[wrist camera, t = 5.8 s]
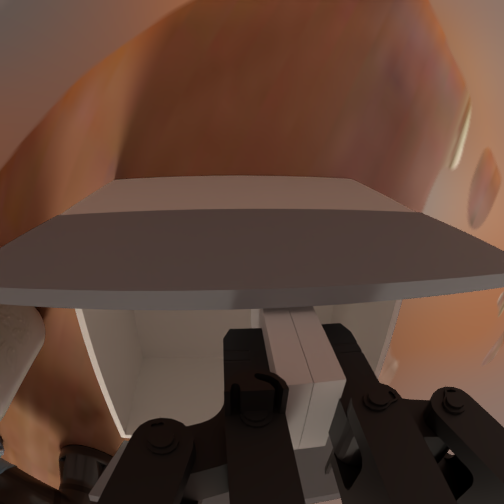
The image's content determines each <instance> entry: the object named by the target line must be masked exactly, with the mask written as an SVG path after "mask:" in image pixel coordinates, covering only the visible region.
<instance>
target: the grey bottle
mask: <svg viewBox="0 0 504 504" xmlns="http://www.w3.org/2000/svg"><path fill="white" fill-rule="evenodd" d="M44 340H45V325H44V322H43V319H42V317H41V315H40V313H39V312H38V310H37V309H36V308H35V306H20V305H6V304H0V421H1V420H2V418H3V417H4V415H5V413H6V411H7V410H8V408H9V406H10V404H11V402H12V400H13V398H14V396H15V394H16V392H17V391H18V389H19V387H20V385H21V383H22V381H23V379H24V378H25V376H26V374H27V372H28V370H29V369H30V367H31V365H32V363H33V361H34V360H35V358H36V356H37V355H38V353H39V351H40V349H41V348H42V346H43V344H44Z"/></svg>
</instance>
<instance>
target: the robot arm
mask: <svg viewBox="0 0 504 504" xmlns="http://www.w3.org/2000/svg"><path fill="white" fill-rule="evenodd" d="M251 327H252V328H245V329H229V330H228V332H227V334H226V335H225V337H224V338H223V361H224V405H223V407H222V409H221V410H220V411H219V412H218V414H217V415H216V416H214V417H213V418H211V419H209V420H207V421H204V422H202V423H198V424H194V425H190V426H185V425H184V424H183V423H182V422H179V421H177V420H174V419H171V418H156V419H151V420H148V421H146V422H145V423H143V424H141V425H139V427H138V428H137V429H136V430H135V431H134V433H133V434H132V436H131V438H130V440H129V442H128V444H127V446H126V448H125V450H124V451H123V453H122V455H121V457H120V459H119V461H118V463H117V465H116V467H115V469H114V471H113V473H112V475H111V476H110V478H109V480H108V482H107V484H106V486H105V488H104V490H103V492H102V494H101V496H100V498H99V500H98V502H95V501H90V498H89V493H90V491H91V490H92V488H93V487H94V485H95V484H96V482H97V481H98V479H99V478H100V476H101V475H102V473H103V472H104V470H105V469H106V467H107V466H108V464H109V463H110V461H111V460H112V458H113V457H112V456H110V455H108V454H106V453H103V452H101V451H98V450H96V449H92V448H89V447H85V446H79V445H69V446H65V447H63V448H62V450H61V453H60V456H59V469H60V481H61V482H60V487H59V490H57V489H55V488H53V487H51V486H49V485H47V484H45V483H43V482H41V481H40V480H38V479H36V478H34V477H32V476H31V475H29V474H27V473H25V472H24V471H22V470H20V469H19V468H17V466H16V465H13V464H11V463H9V462H7V461H6V460H4V459H2V458H0V504H202V501H203V499H206V498H210V497H213V496H217V495H220V494H223V493H227V492H229V501H230V504H306V503H305V498H304V494H303V490H302V485H301V481H300V476H299V472H298V467H297V463H296V458H295V454H294V450H296V449H298V448H299V449H304V448H312V447H320V446H325V445H326V442H327V439H328V436H330V440H331V443H332V446H333V449H332V451H331V454H330V456H329V459H328V461H327V464H326V466H325V474H329V472H330V470H331V468H332V469H333V473H334V476H335V479H336V483H337V486H338V490H339V493H340V497H341V500H342V504H504V428H503V427H502V426H501V425H500V424H499V423H498V422H497V421H496V420H495V419H494V418H493V417H492V416H491V415H490V414H489V413H488V412H486V411H485V410H484V409H483V408H482V407H481V406H480V405H479V404H478V403H477V402H476V401H475V400H474V399H473V398H471V397H470V396H469V395H468V394H467V393H465V392H464V391H462V390H461V389H458V388H454V387H443V388H440V389H438V390H437V391H435V392H434V393H433V395H432V397H431V399H430V400H409V399H402V398H401V396H400V395H399V394H398V393H397V391H396V390H394V389H393V388H391V387H389V386H388V385H385V384H381V383H379V381H378V379H377V377H376V375H375V373H374V372H373V370H372V368H371V366H370V364H369V363H368V361H367V359H366V357H365V355H364V354H363V353H362V350H361V348H360V346H359V345H358V344H357V341H356V339H355V338H354V336H353V334H352V332H351V331H350V330H348V329H347V328H346V327H344V326H343V325H342V324H341V323H333V324H321V323H320V320H319V318H318V316H317V314H316V312H315V310H314V308H313V306H308V307H288V308H265V309H251ZM449 449H450V450H451V451H452V452H453V453H454V454H455V455H450V454H448V453H447V452H448V450H449Z"/></svg>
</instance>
